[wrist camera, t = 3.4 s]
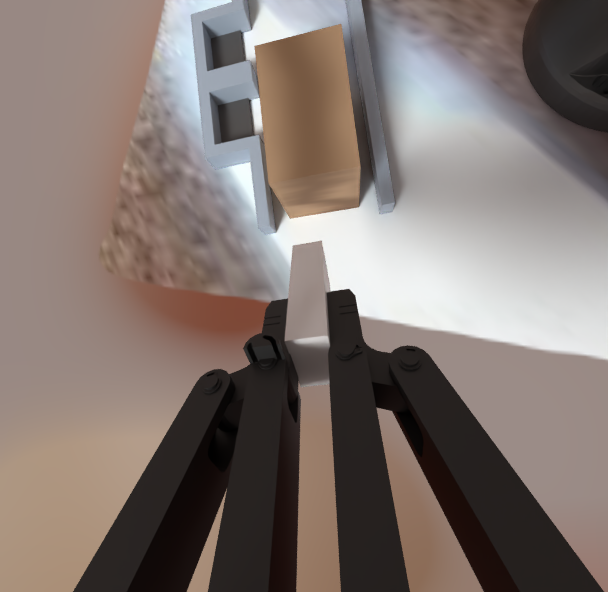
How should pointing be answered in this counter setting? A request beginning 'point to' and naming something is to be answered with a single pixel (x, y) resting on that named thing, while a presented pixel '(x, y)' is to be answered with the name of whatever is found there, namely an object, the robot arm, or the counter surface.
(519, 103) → the counter surface
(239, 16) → the trap lane
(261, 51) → the walnut block
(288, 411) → the robot arm
